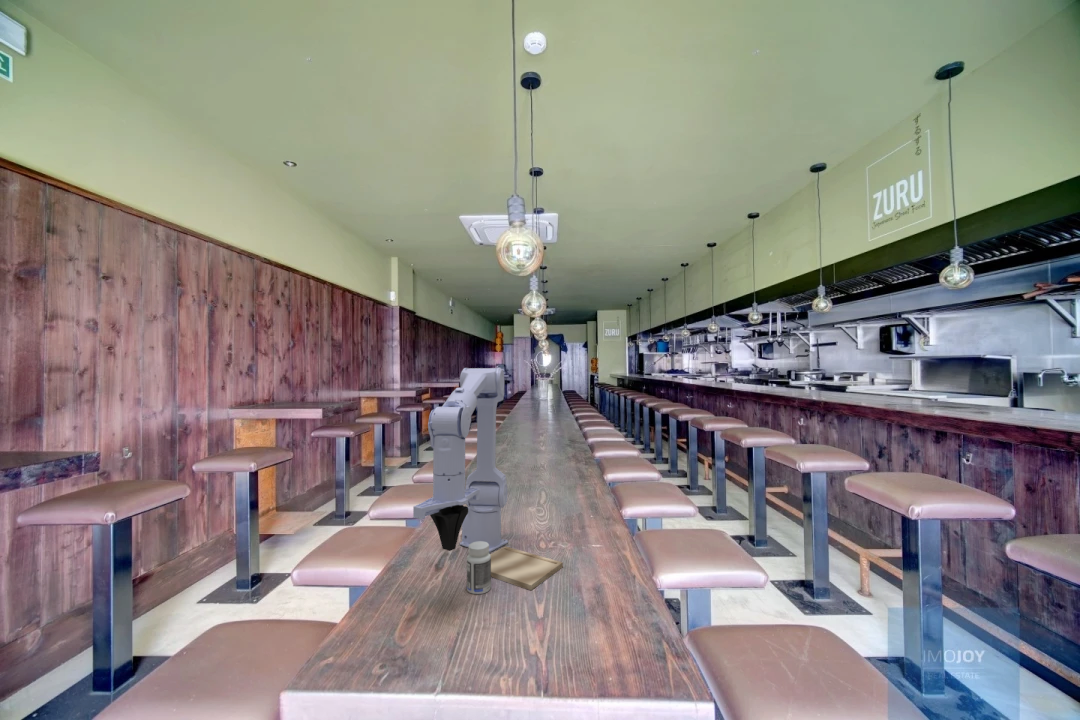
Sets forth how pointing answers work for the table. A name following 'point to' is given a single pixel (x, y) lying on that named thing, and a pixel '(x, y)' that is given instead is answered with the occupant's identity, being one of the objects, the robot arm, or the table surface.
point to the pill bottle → (478, 568)
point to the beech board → (522, 567)
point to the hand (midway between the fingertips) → (448, 548)
